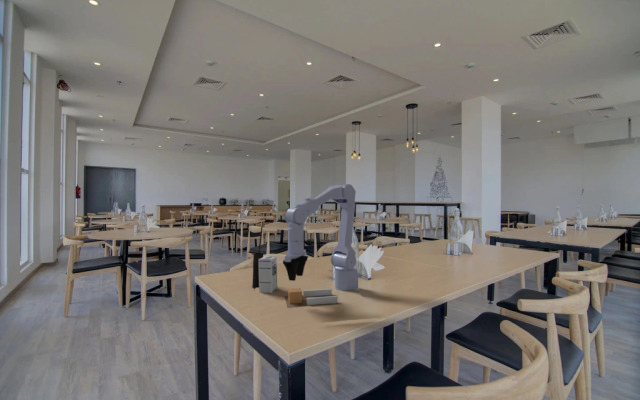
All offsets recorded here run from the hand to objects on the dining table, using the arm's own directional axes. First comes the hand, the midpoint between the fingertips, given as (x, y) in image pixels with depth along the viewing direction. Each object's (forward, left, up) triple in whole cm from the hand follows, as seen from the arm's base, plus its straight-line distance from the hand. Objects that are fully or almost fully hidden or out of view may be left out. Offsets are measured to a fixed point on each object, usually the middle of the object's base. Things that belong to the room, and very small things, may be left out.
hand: (296, 277), depth 108 cm
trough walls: (-9, 0, -8) cm, 12 cm away
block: (0, 0, -8) cm, 8 cm away
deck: (-5, 0, -9) cm, 11 cm away
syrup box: (+10, -15, -10) cm, 20 cm away
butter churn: (+15, -24, -10) cm, 30 cm away
